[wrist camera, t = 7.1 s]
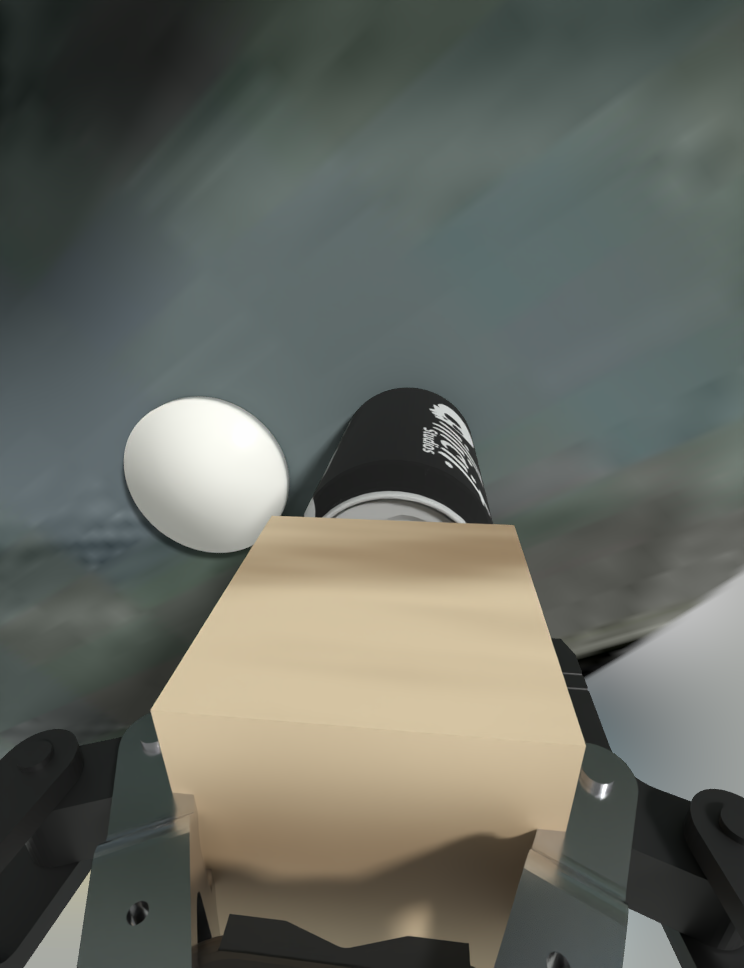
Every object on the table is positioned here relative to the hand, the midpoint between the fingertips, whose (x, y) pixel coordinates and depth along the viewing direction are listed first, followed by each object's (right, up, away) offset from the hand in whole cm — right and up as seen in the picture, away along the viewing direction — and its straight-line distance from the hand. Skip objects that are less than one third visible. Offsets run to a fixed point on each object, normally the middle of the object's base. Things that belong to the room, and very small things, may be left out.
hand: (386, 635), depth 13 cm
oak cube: (0, 0, +1) cm, 1 cm away
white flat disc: (-9, +4, +15) cm, 18 cm away
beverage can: (+2, +6, +13) cm, 15 cm away
